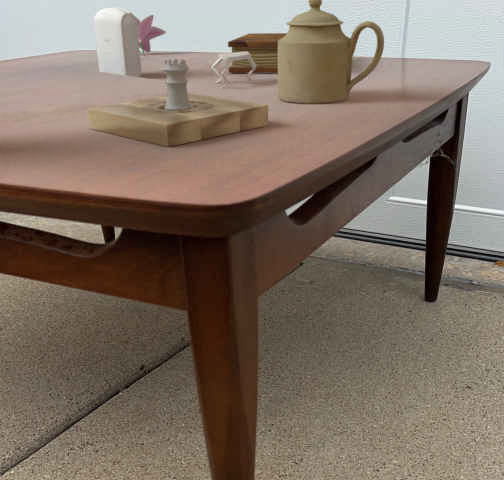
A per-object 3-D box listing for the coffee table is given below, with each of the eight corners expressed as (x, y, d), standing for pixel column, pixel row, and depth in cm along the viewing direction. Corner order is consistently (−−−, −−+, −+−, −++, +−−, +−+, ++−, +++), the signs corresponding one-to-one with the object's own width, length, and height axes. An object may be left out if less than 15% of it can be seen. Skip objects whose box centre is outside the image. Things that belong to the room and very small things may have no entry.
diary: (325, 73, 130) (326, 41, 128) (228, 73, 133) (227, 42, 131) (333, 59, 151) (334, 31, 148) (249, 60, 154) (249, 32, 151)
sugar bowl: (367, 90, 111) (372, -12, 104) (382, 102, 101) (389, -10, 94) (274, 93, 110) (274, -10, 104) (281, 105, 100) (281, -8, 94)
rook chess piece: (157, 130, 85) (152, 62, 82) (166, 123, 89) (162, 58, 86) (192, 130, 85) (189, 62, 81) (200, 123, 89) (197, 58, 85)
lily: (174, 57, 171) (164, 20, 171) (159, 41, 159) (148, 2, 160) (130, 73, 173) (120, 37, 173) (112, 59, 162) (101, 20, 162)
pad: (168, 147, 77) (166, 124, 76) (89, 128, 87) (87, 108, 86) (268, 125, 87) (268, 105, 86) (187, 110, 97) (186, 92, 96)
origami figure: (212, 79, 126) (211, 51, 124) (258, 79, 125) (258, 50, 123) (205, 89, 115) (203, 58, 113) (255, 89, 115) (254, 58, 113)
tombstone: (95, 76, 134) (88, 7, 128) (114, 73, 136) (108, 6, 131) (126, 80, 127) (119, 8, 121) (145, 78, 129) (139, 7, 124)
